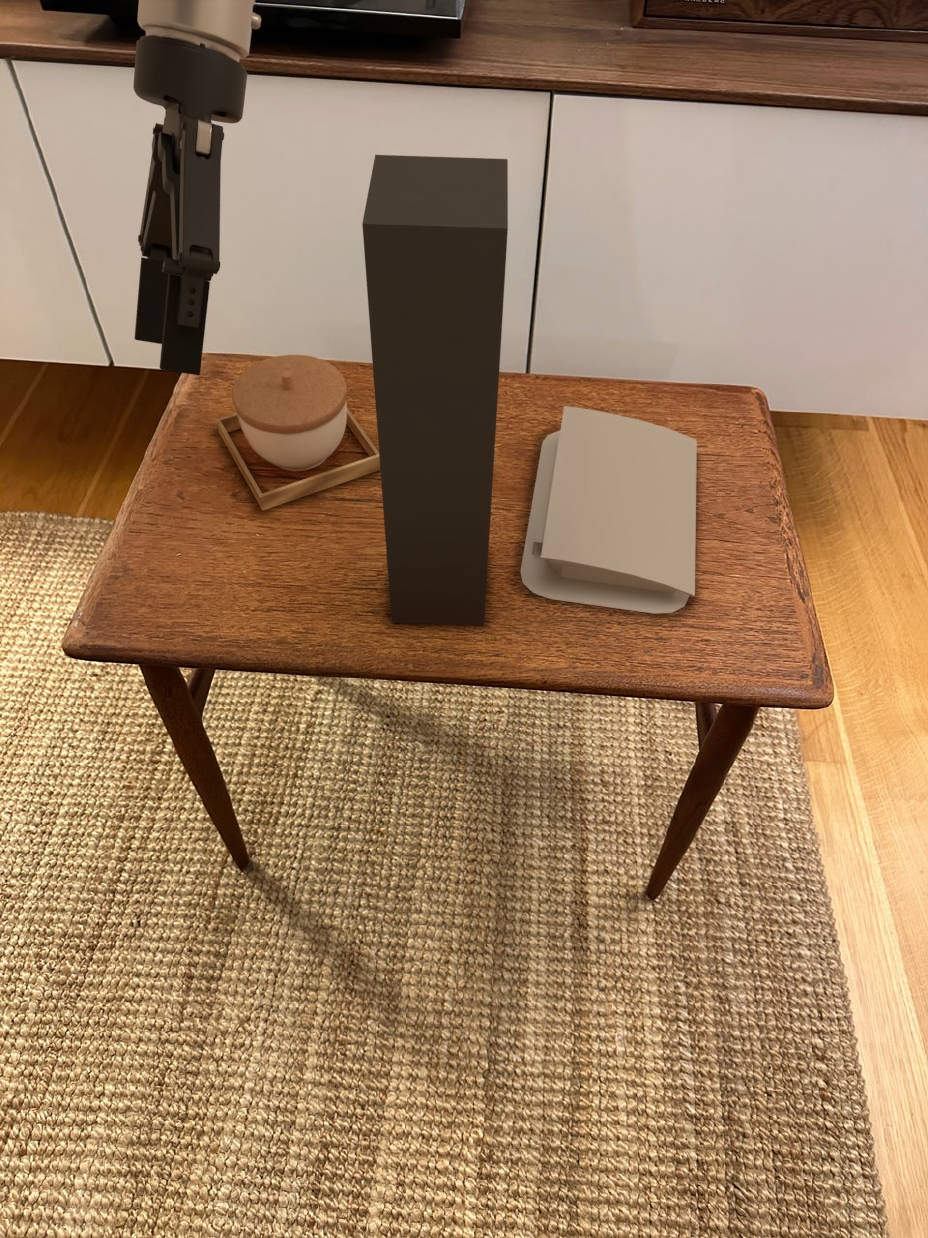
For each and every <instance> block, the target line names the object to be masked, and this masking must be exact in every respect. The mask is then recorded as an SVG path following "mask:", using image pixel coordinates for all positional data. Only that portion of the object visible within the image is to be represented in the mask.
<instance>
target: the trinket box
mask: <svg viewBox="0 0 928 1238" xmlns="http://www.w3.org/2000/svg"><path fill="white" fill-rule="evenodd" d="M346 382H347V381H346V380H345V378H344V375H343V374H342V372H341V371H340V370H339V369H338V368H337V367H335V366H334V365H333V364H332V363H330V362H329V361H326V360H324V359H322V358H318V357H316V356H312V355H311V356H310V355H306V354H305V355H304V354H303V355H302V354H284V355H277V356H272V357H269V358H266V359H263V360H260V361H258V362H256V363H254V364H253V365H251V366H249V367H248V368H246V370H244V371H243V372H242V373H241V374H240V375H239V376H238V378H237V379H236V380H235V381H234V384H233V386H232V390H231V400H232V403H233V407H234V411H235V413H237V416H238V419H239V423H240V426H241V431H242V434H243V436H244V438H245V440H246V441H247V442H248V444H249V446H250V447H251V449H252V450H253V451H254V452H255V453H256V454H257V455H258V456H259V457H260V458H262V459H263V460H265V461H266V462H267V463H270V464H272V465H274V466H276V467H278V468H280V469H282V470H285V471H289V472H304V471H309V470H312V469H314V468H317V467H319V466H320V465H321V464H323V463H324V462H325V461H326V460H327V459H328V458H329V457H330V456H332V455H333V453H334V452H335V451H336V450H337V449H338V447H339V445H340V444H341V442H342V440H343V438H344V434H345V432H346V427H347V424H346V421H347V408H348V401H347V396H348V391H347V390H348V389H347V383H346Z"/></svg>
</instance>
